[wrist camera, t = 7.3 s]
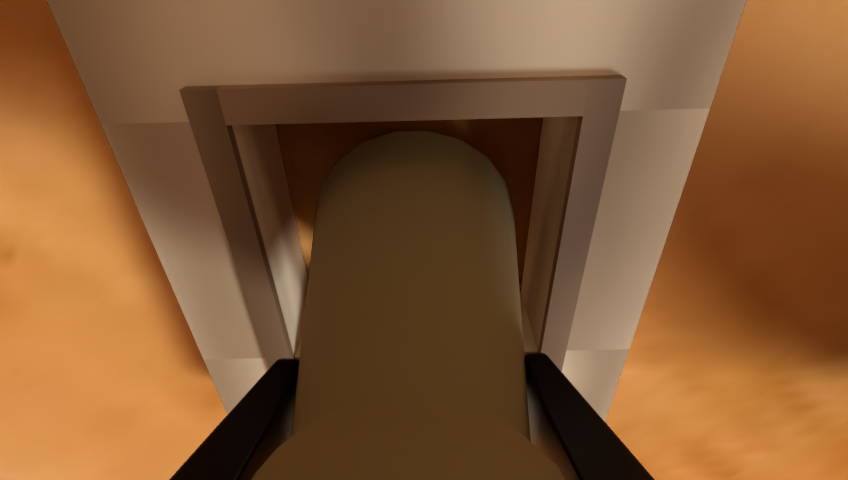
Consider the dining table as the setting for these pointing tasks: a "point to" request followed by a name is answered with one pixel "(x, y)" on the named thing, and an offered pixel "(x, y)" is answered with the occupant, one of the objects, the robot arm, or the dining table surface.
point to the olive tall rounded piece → (412, 324)
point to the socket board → (402, 101)
